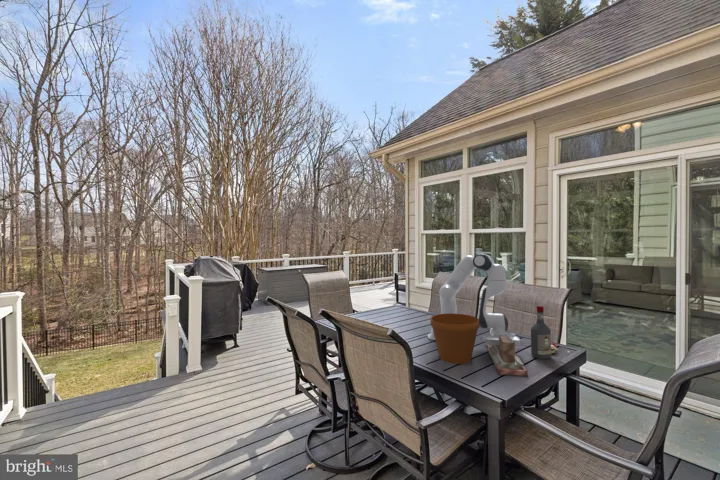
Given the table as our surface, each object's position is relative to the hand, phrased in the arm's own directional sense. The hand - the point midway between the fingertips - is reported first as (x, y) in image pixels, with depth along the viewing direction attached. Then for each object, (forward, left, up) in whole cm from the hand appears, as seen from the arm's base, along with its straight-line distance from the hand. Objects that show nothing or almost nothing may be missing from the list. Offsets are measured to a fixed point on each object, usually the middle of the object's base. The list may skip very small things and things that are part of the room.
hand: (504, 345), depth 195 cm
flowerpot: (-28, -1, -9) cm, 29 cm away
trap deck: (0, +1, -9) cm, 9 cm away
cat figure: (+29, +25, -9) cm, 40 cm away
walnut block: (0, -6, -6) cm, 8 cm away
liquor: (+22, +9, -9) cm, 25 cm away
